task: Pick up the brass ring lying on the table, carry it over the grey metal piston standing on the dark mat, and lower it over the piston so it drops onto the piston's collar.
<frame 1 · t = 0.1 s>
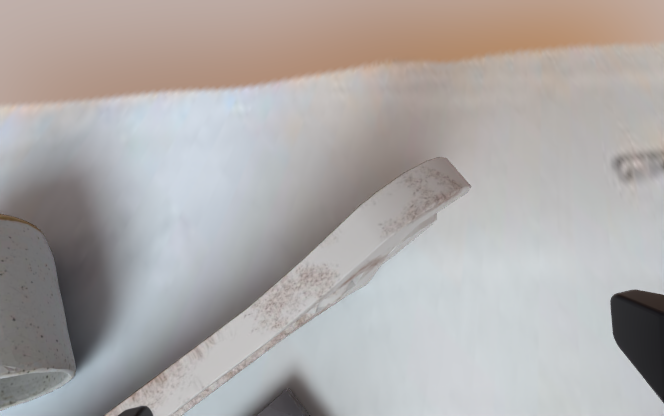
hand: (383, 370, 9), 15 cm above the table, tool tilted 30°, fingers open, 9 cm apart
wrench: (208, 381, 24), on the table
ceramic mug: (6, 337, 25), on the table
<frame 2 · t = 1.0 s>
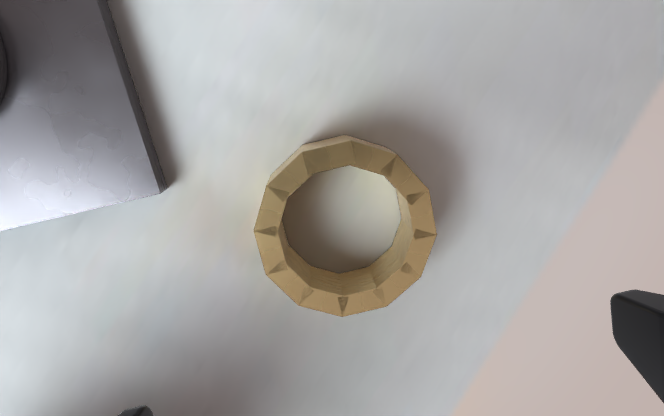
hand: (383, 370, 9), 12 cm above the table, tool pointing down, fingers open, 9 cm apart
ring: (341, 216, 20), on the table
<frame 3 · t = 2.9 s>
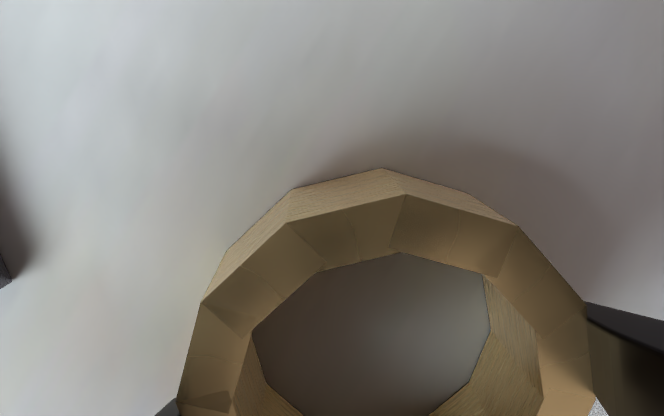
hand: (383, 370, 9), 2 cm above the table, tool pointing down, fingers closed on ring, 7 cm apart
ring: (372, 329, 10), on the table, touching gripper
when the fingers open (5 cm above the table, at t = 7.8 s): ring drops 1 cm, resting on piston stand.
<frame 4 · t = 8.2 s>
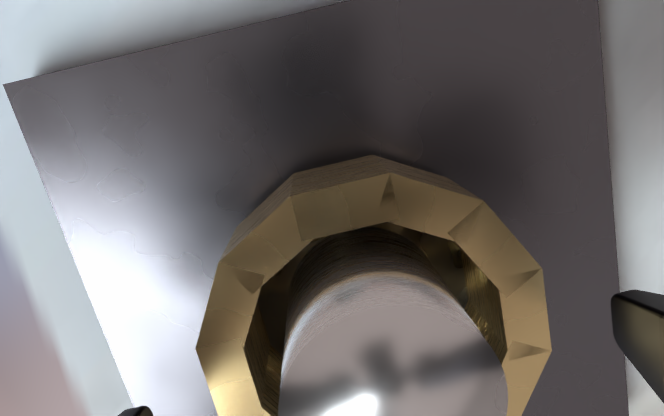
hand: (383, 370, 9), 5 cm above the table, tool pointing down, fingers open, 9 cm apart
piston stand: (356, 271, 13), on the table
ring: (363, 297, 12), point 2 cm above the table, touching piston stand
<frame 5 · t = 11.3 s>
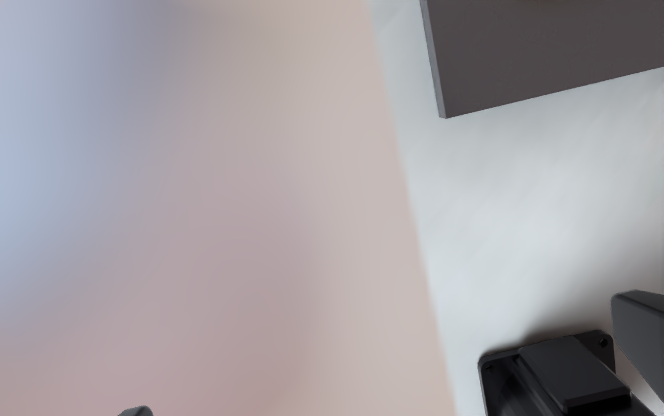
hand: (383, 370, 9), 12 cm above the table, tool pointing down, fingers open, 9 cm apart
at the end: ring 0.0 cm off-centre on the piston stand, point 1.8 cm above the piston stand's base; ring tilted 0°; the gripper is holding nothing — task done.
